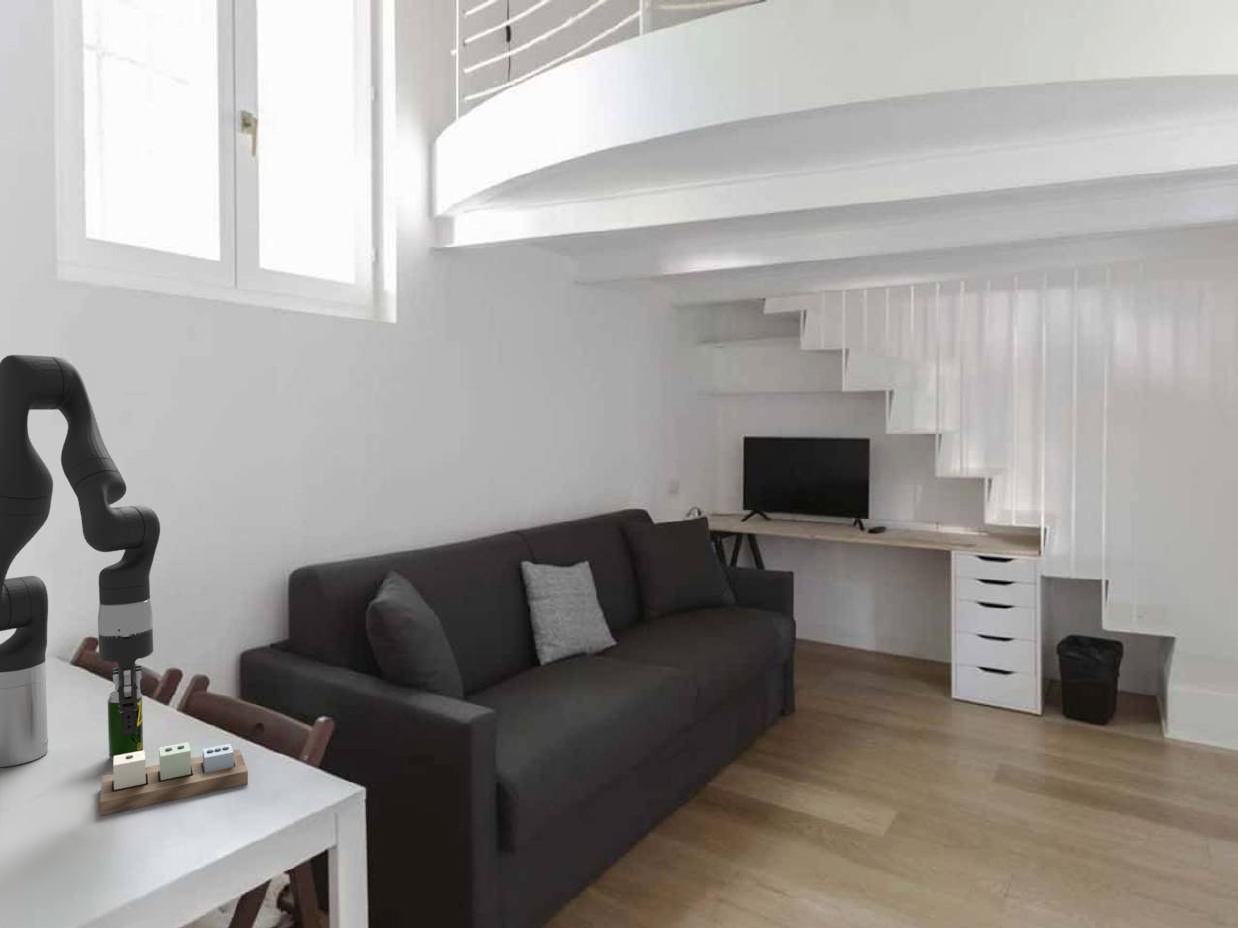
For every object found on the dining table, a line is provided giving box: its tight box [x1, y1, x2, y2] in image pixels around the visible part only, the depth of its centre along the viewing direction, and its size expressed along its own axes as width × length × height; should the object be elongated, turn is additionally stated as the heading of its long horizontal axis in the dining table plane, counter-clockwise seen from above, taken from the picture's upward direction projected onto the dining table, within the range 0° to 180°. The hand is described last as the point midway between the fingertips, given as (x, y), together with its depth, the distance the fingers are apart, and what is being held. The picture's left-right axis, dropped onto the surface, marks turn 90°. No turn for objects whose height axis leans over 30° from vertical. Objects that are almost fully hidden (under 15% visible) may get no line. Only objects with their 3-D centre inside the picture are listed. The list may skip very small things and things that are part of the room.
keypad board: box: [99, 748, 249, 817], centre depth 132 cm, size 21×11×2 cm, turn 123°
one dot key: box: [112, 749, 147, 790], centre depth 128 cm, size 4×4×4 cm
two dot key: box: [158, 741, 192, 780], centre depth 132 cm, size 4×4×4 cm
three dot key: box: [202, 743, 234, 773], centre depth 135 cm, size 4×4×4 cm
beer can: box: [107, 690, 144, 762], centre depth 144 cm, size 5×5×12 cm
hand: (129, 732), depth 128 cm, fingers closed
